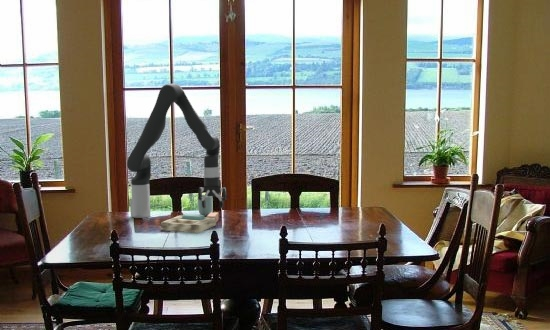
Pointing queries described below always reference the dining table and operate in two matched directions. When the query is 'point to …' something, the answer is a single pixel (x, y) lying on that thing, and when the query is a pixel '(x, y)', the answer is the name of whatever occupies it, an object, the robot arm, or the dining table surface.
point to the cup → (208, 206)
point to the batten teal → (193, 217)
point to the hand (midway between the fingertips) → (212, 208)
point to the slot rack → (188, 224)
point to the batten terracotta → (213, 215)
